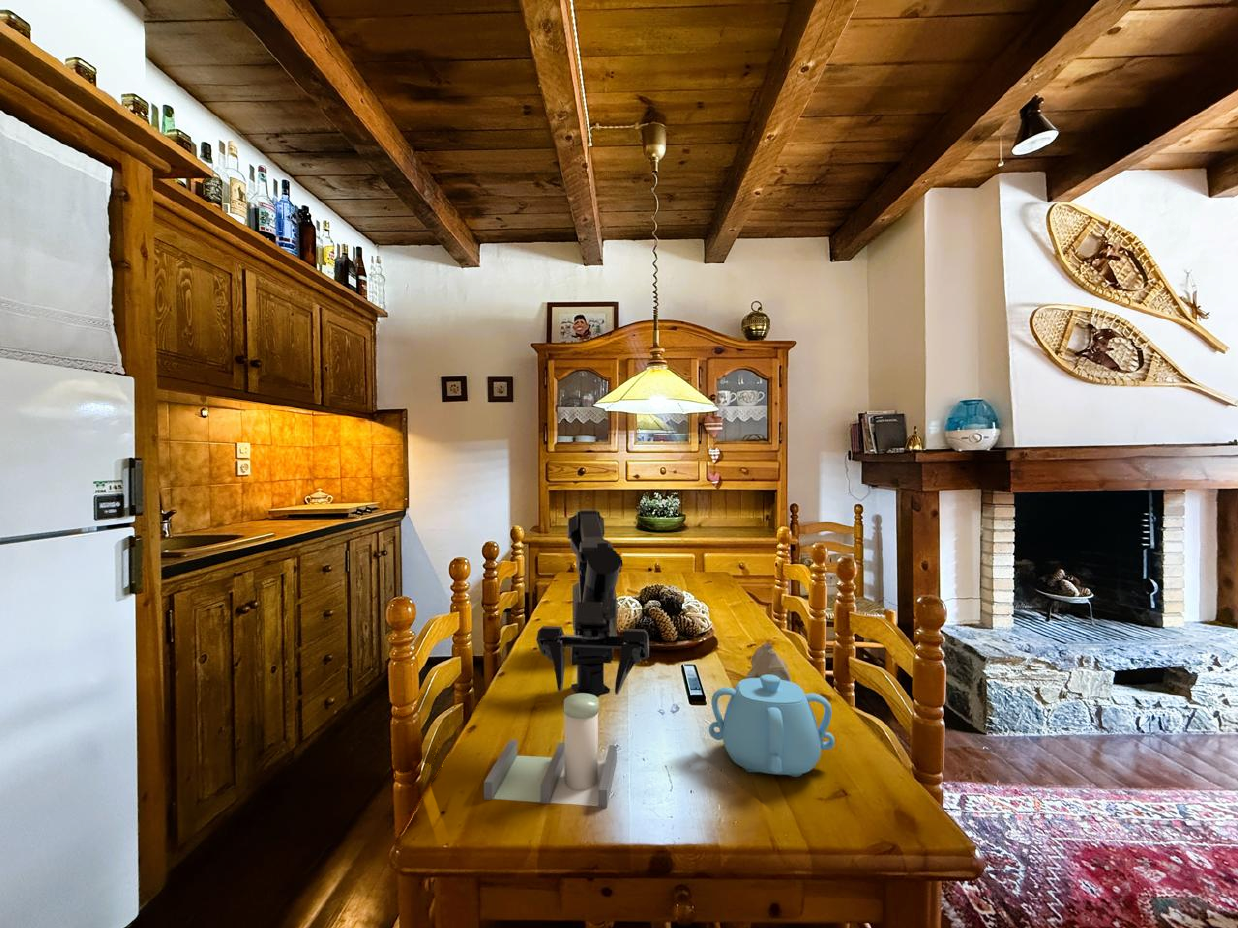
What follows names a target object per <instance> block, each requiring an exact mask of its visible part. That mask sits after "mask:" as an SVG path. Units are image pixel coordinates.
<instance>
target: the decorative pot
mask: <svg viewBox="0 0 1238 928" xmlns="http://www.w3.org/2000/svg"><path fill="white" fill-rule="evenodd" d="M711 696H712V697H711V701H710V702H711V707H712V713H713V714H714V718H715V720H716V721H713V722H711V723H710V724H709V725H708V726H709V727H708V733H709V735H710V736H711V738H713V739H714V740H715V741H716V740H718V741H721V740H722V741H723V744H724V745H723V746H724V748H725V750H726V752H727V754H728V755H729V756H730V758H731V760H732V761H733V762H734V763H735V764H736V765H738V766H739V767H742V769H743V770H744V769H745V770H744V771H745V772H748V773H751V772H753V773H754V772H755V773H763V774H769V775H776V776H777V775H778V776H783V775H784V776H786V775H787V776H790V777H792V778H793V777H794V778H800V777H801V776H802V775H803V774H806V773H808V772H810V771H812V770H813V769H814V768H815V766H816V765H817V763H818V762H819V760H820V758H821V755H822V750H824V751H828V750H831V749H833V747H834V746H835V744H836V743H835V737H834V735H833V734H832V733H831V732H827V730H828V727H829V724H830V723H831V719H832V714H833V710H832V706H831V703H830V702H829V701H828V700H827V698H825V697H824V696H822V695H820V694H819V693H818V694H817V693H806V694H805V692H804V690H803V688H802V687H801V686H800V685H799V684H797V683H795V682H793V681H791V682H790V681H785V680H781V679H780V678H779V677H777V676H775V675H762V676H761V677H760V678H748V679H747V678H744V679H740V680H739V681H738V683H737V684H736V686H735V688H731V687H730V686H729V687H728V686H727V687H726V686H725V687H721V688H719V689H717V690H716V691H715V692H713V695H711ZM722 696H730V698H729V701H728V703H727V706H726V709H725V712H724V717H722V713H721V712H720V709H719V703H718V699H720V697H722ZM810 702H816V703H819V704H822V705H823V707H824V714H823V718H822V721H821V722H820V726H818V722H817V717H816V716H815V713H814V711H813V708H812V707H811V705H810ZM715 728H718V729H719V731H716V729H715ZM824 738H827V739H828V741H824ZM755 773H754V774H755Z"/></svg>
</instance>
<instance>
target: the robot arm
mask: <svg viewBox="0 0 1238 928" xmlns="http://www.w3.org/2000/svg"><path fill="white" fill-rule="evenodd" d="M566 528H567V529H566V534H567V540H569V541H570V549H571V551H572V552H573V553H574V554H575V557H576V560H575V561H576V571H577V572H578V573H577V574H578V582H579V598H580V602H577V603H576V611H575V623H576V625H575V629H574V630H573V634H564V630H563V627H562V626H550V625H549V626H547V625H543V626H541V627H540V628H539V630H537V633H536V634H537V635H536V639H535V640H536V643H537V645H538V648H539V651H540V654H541V655H544V656H546V657H547V659H548V660H550V661H552V662H553V666H554V671H555V680H556V685H557V690H558V692H559V693H561V692H562V690H563V686H564V679H565V677H564V676H565V664H566V656H565V651H566V648H569V653H570V658H569V659H570V664H571V666H576V683H573V684H571V685H570V687H571V689H572V690H573V691H575V692H576V694H578V693H586V694H592V695H594V696H597V695H602V694H607V693H610V692H611V688H609V687H608V686H607V685H606V684H605V683H604V681H605V679H604V678H605V675H604V674H605V671H604V670H605V669H604V667H605V666H604V665H605V664H609V665H610V664H612V661H614V649H617V650H619V649H620V657H619V663H618V668H617V673H616V678H615V686H614V688H615V689H614V693H615V695H619V693H620V691H621V689H622V687H623V684H624V682H625V680H626V678H627V676H628V675H629V673H630V672H631V670H632V668H633V667H634V666H635V664H640V663H642V660H647V659H649V657H650V656H649V655H650V644H649V643H650V642H649V633H648V632H647V630H646V629H645V628H644V629H643V628H642V629H639V628H637V629H636V628H625V629H624V631H623V632H624V634H623V636H616V637H615V636H611V630H612V620H617V621H618V614H619V613H618V612H619V611H618V609H619V607H618V606H619V605H618V602H619V601H618V599H614V598H615V590H616V587H617V583H618V579H619V575H620V569H621V567H623V559H622V558H621V556H620V555H619V553H618V552H617V551H616V550H614V547H613V544H612V542H611V541H609V540H607V539H605V538H604V537H605V518H604V517H603V516H601V515H600V511H599V510H596V509H586V510H585V509H584V510H583V509H582V510H581V509H580V510H579V511H578V510H577V512H576V514H575V515H573V516H571V517H570V518H568V520H567V527H566Z"/></svg>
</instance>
